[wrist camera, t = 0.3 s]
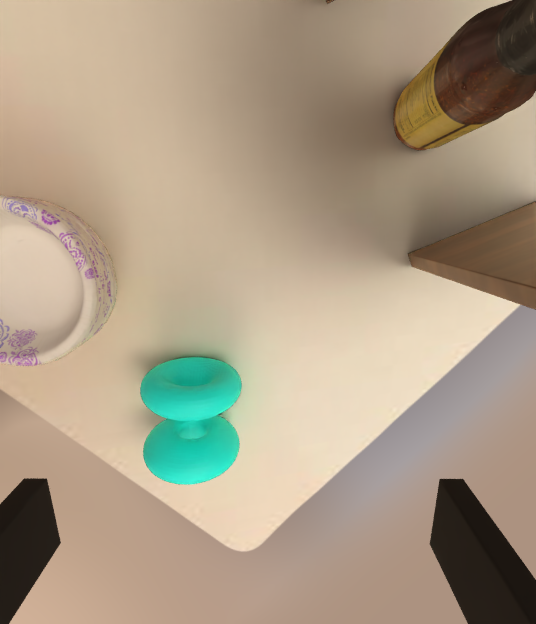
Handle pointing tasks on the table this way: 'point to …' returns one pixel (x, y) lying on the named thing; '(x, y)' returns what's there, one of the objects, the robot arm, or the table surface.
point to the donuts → (191, 419)
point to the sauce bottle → (471, 77)
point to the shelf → (489, 256)
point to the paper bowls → (49, 282)
